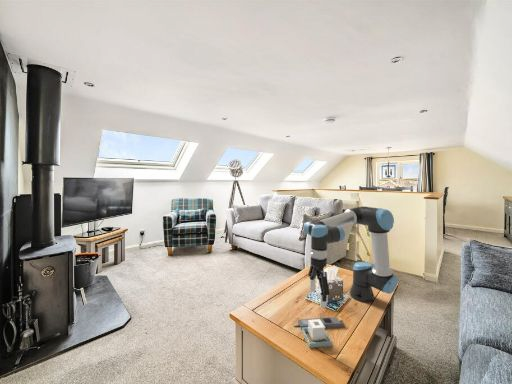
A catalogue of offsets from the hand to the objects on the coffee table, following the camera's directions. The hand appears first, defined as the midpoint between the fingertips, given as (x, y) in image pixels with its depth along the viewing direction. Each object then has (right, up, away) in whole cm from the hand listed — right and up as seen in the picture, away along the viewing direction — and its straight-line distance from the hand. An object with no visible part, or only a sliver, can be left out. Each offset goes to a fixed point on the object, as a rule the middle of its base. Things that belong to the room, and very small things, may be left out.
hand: (317, 298), depth 109 cm
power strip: (+4, -21, +11) cm, 24 cm away
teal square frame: (0, -21, +1) cm, 21 cm away
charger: (0, -21, +1) cm, 21 cm away
